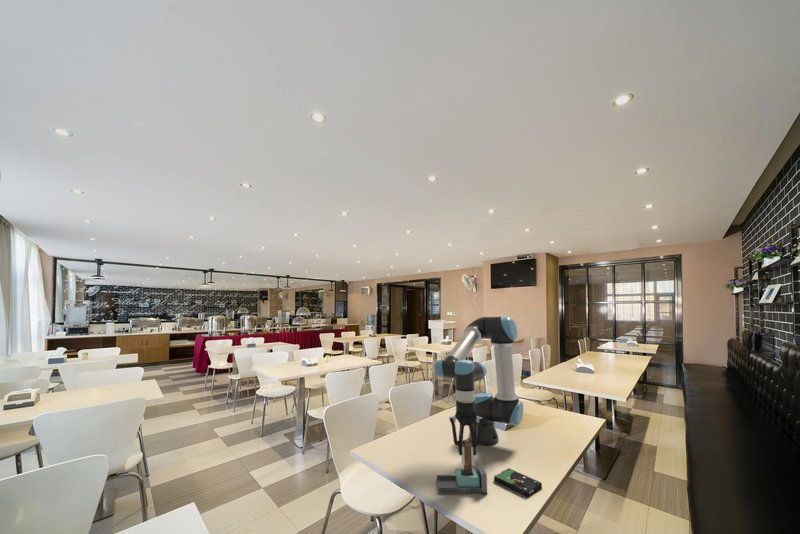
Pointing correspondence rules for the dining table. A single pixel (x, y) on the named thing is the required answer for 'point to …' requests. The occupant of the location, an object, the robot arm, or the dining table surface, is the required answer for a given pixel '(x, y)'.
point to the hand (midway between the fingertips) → (467, 463)
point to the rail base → (449, 486)
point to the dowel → (467, 458)
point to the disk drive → (518, 482)
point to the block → (467, 478)
